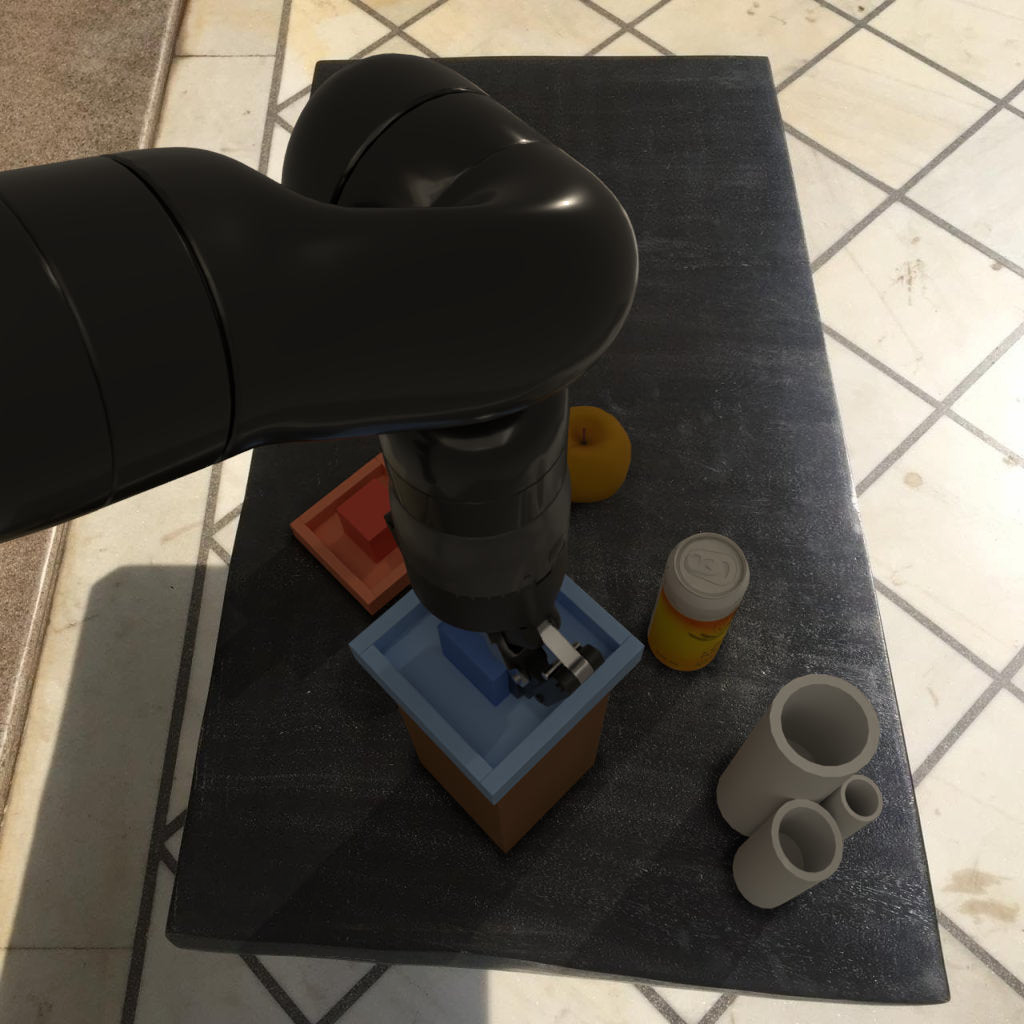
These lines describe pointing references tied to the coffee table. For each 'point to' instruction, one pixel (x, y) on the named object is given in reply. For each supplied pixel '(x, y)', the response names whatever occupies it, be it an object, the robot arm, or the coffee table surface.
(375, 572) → the red tray
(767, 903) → the vase
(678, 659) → the beer can
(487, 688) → the blue block
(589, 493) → the apple
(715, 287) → the coffee table surface
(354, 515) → the red block
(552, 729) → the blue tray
